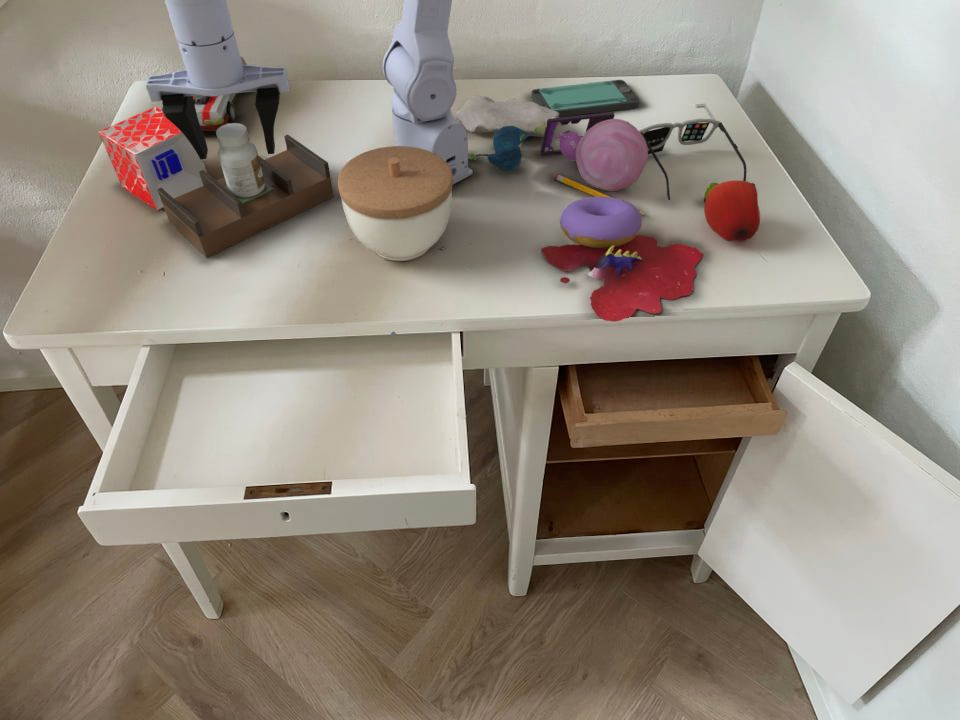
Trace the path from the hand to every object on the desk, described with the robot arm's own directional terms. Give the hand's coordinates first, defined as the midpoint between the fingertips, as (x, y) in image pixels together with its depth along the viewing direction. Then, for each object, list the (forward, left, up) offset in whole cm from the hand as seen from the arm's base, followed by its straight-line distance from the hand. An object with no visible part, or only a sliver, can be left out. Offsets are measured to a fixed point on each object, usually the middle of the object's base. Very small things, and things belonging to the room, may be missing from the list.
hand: (238, 152), depth 83 cm
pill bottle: (0, 0, -5) cm, 5 cm away
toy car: (+26, -9, -8) cm, 29 cm away
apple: (-46, -37, -6) cm, 59 cm away
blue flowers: (-11, -34, -6) cm, 36 cm away
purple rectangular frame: (-20, -38, -8) cm, 44 cm away
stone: (0, -34, -7) cm, 35 cm away
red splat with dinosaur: (-39, -25, -10) cm, 48 cm away
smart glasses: (-31, -47, -8) cm, 57 cm away
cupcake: (-24, -42, -5) cm, 49 cm away
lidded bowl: (-17, -9, -8) cm, 22 cm away
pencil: (-27, -34, -8) cm, 44 cm away
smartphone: (-10, -51, -8) cm, 53 cm away
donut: (-34, -27, -8) cm, 44 cm away
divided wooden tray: (0, 0, -8) cm, 8 cm away
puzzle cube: (+13, +6, -8) cm, 16 cm away
